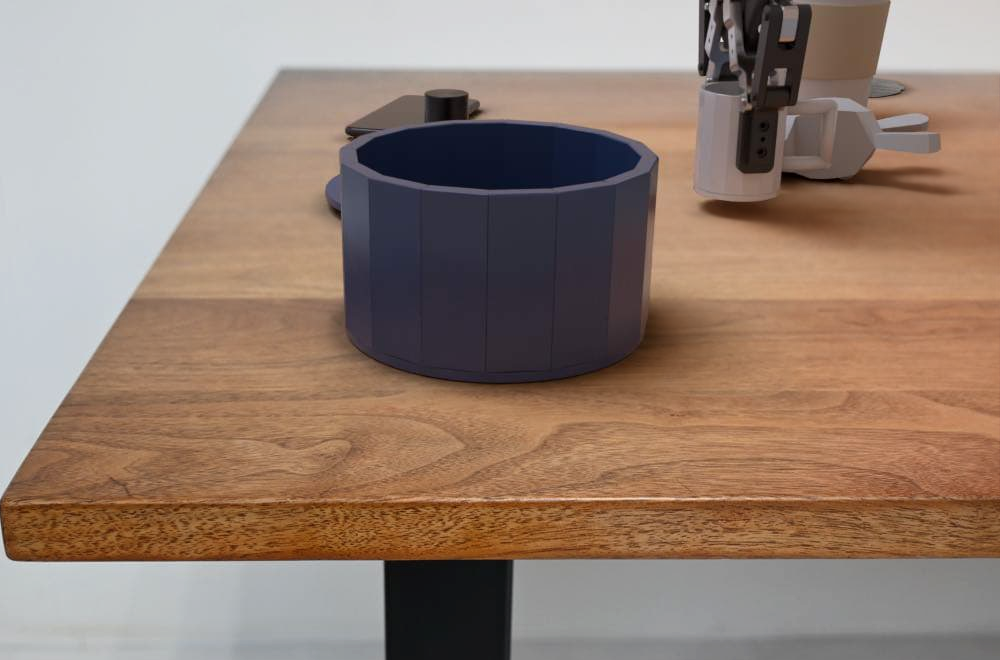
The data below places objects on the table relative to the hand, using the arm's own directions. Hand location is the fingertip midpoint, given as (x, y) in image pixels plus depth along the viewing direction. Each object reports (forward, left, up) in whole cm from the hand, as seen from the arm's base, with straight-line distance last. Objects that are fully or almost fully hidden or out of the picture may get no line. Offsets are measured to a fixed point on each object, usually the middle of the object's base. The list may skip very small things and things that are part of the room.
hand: (738, 159), depth 80 cm
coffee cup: (-16, -25, -3) cm, 30 cm away
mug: (-2, 0, -2) cm, 3 cm away
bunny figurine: (-9, -8, -3) cm, 12 cm away
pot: (+18, +19, -3) cm, 26 cm away
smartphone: (+18, -27, -3) cm, 33 cm away
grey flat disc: (-24, -41, -3) cm, 48 cm away
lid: (+18, -3, -3) cm, 19 cm away
